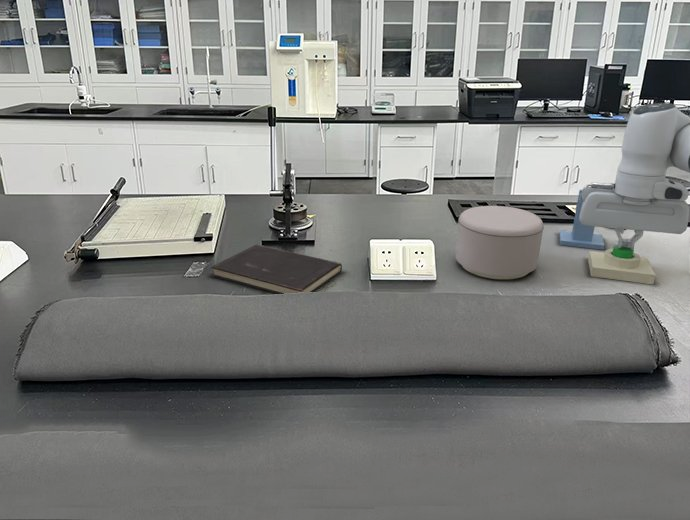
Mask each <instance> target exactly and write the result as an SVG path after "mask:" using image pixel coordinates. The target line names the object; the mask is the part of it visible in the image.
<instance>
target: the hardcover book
mask: <svg viewBox="0 0 690 520" xmlns="http://www.w3.org/2000/svg"><path fill="white" fill-rule="evenodd" d="M210 268H211V269H213V274H212V275H211V276H212V277H213V278H217V279H221V280H224V281H228V282H231V283H235V284H239V285H243V286H246V287H250V288H254V289H258V290H261V291H264V292H268V293H272V294H275V295H279V294H284V293H298V292H312V293H314V292H315V291H316V290H318V289H319V288H321V287H322V286H324V285H325V284H326V283H328V282H329V281H331V280H333V279H334V278H335V277H337V276H338V275H339V274H341V272H342V269H343V266H342V263H341V262H337V261H334V260H328V259H324V258H319V257H315V256H310V255H306V254H301V253H297V252H292V251H289V250H283V249H280V248H275V247H270V246H266V245H261V244H259V243H258V244H257V243H256V244H254V245H252V246H250V247H248V248H246V249H244V250H242V251H240V252H238V253H236V254H234V255H232V256H230V257H228V258H226V259H223V260H222V261H220V262H218V263H216V264H214V265H212V266H211V267H210Z"/></svg>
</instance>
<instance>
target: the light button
mask: <svg viewBox="0 0 690 520" xmlns="http://www.w3.org/2000/svg"><path fill="white" fill-rule="evenodd" d="M612 249H613V252H612V255H613V256H615V257H618V258H624V259H632V257H633V253H635V250H634V249H635V248H634V249H624V248H618V245H615V246H613V248H612Z"/></svg>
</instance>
